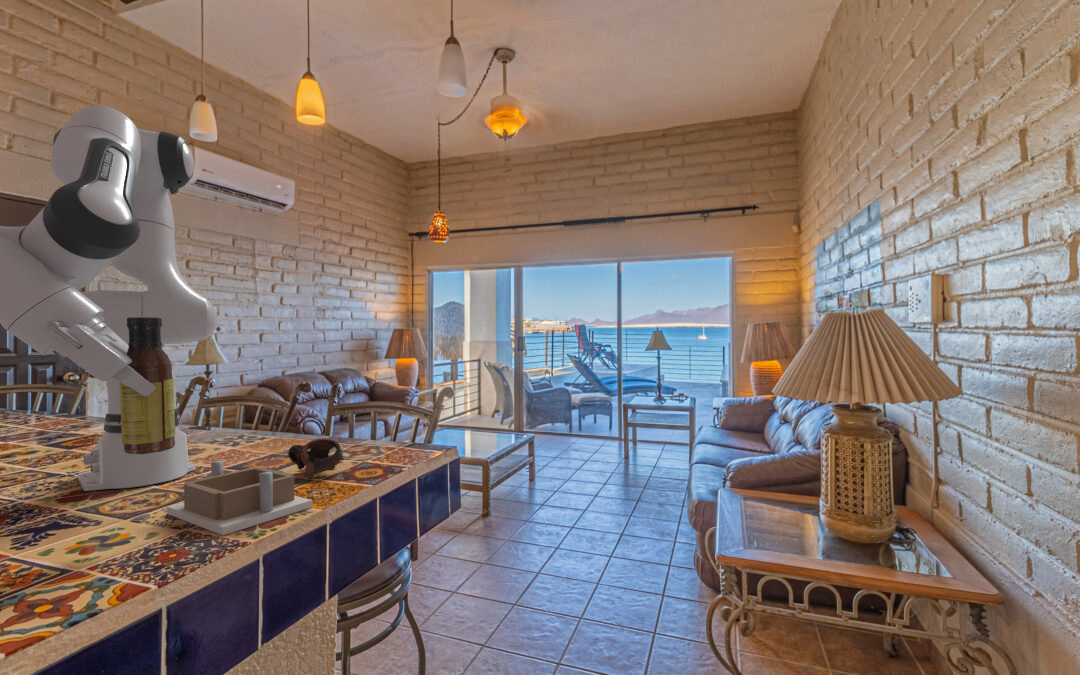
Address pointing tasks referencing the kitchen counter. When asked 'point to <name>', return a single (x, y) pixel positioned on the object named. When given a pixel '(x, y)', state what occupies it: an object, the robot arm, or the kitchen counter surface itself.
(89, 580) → the kitchen counter surface
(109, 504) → the kitchen counter surface
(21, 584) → the kitchen counter surface
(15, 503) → the kitchen counter surface
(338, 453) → the pottery mug
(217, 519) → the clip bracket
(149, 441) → the sauce bottle
